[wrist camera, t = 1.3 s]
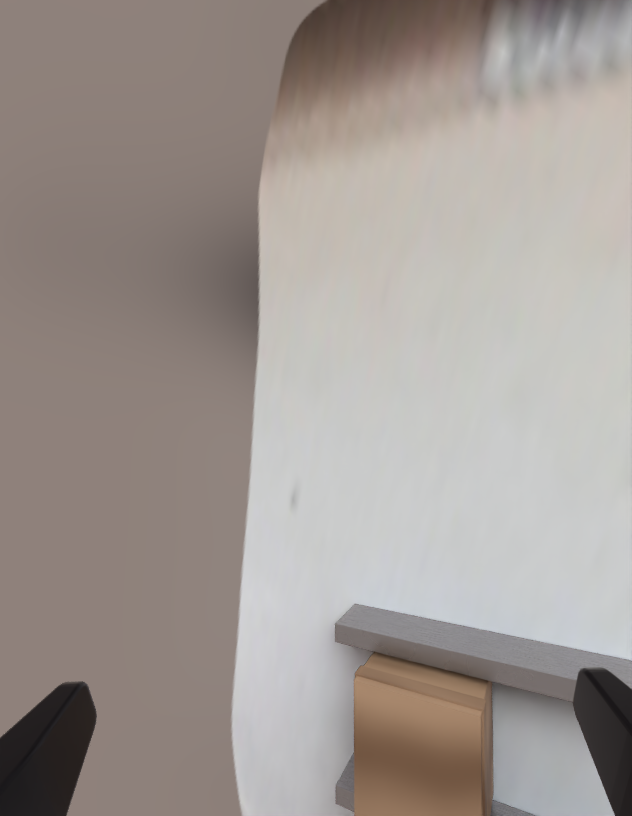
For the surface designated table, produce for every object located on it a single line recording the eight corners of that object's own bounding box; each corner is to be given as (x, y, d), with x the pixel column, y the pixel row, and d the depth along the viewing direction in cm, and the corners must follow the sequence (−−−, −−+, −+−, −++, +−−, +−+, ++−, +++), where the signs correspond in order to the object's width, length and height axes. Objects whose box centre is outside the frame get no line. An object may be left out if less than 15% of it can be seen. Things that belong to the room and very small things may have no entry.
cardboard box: (495, 795, 24) (484, 883, 19) (384, 754, 26) (352, 823, 22) (493, 659, 24) (483, 715, 19) (383, 633, 27) (351, 677, 22)
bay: (787, 933, 18) (829, 1020, 16) (355, 765, 27) (335, 803, 25) (781, 691, 19) (822, 737, 16) (355, 603, 28) (335, 623, 25)
